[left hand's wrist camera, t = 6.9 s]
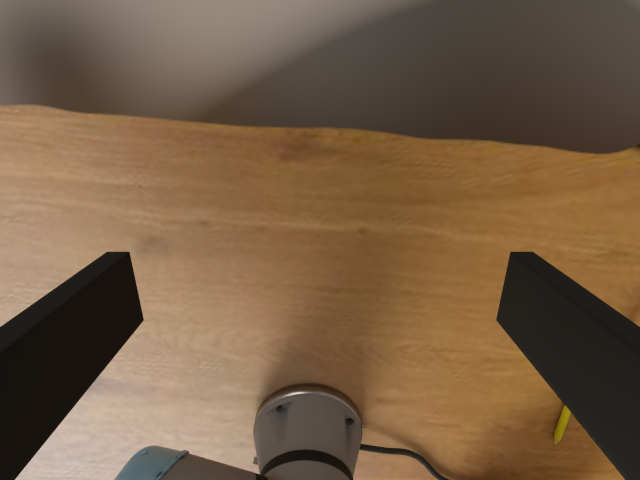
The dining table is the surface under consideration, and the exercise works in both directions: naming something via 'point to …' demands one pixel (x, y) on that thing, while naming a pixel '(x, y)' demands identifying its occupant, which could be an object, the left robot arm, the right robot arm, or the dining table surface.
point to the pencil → (561, 424)
